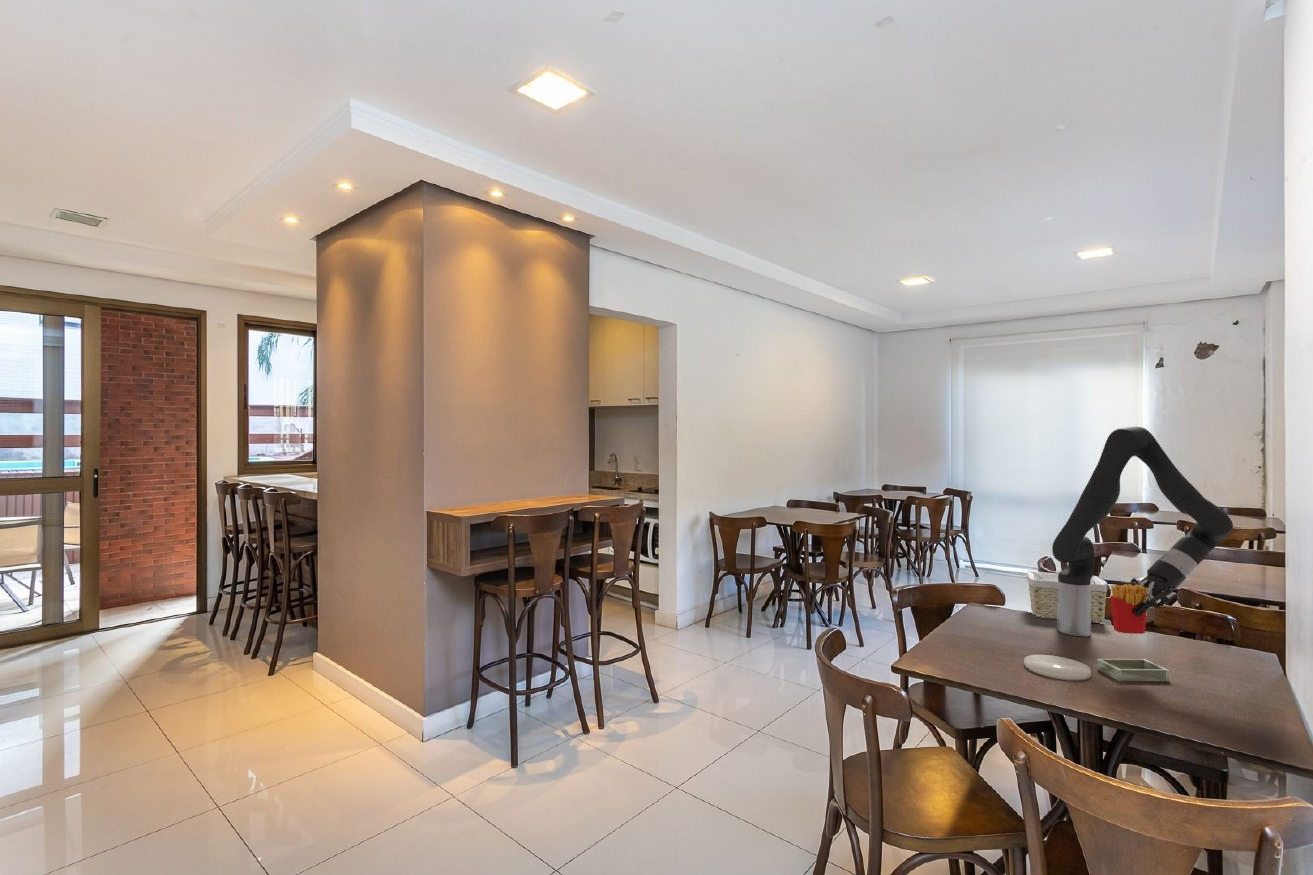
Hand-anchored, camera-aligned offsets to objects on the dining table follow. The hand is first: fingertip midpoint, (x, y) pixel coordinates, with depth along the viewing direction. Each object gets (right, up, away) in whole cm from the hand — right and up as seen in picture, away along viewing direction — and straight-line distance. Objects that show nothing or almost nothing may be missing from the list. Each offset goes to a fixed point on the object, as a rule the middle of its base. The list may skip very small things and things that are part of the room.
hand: (1129, 611), depth 173 cm
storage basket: (+20, -18, +58) cm, 64 cm away
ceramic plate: (-18, -18, +4) cm, 25 cm away
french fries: (0, -6, 0) cm, 6 cm away
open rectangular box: (+1, -18, 0) cm, 18 cm away
